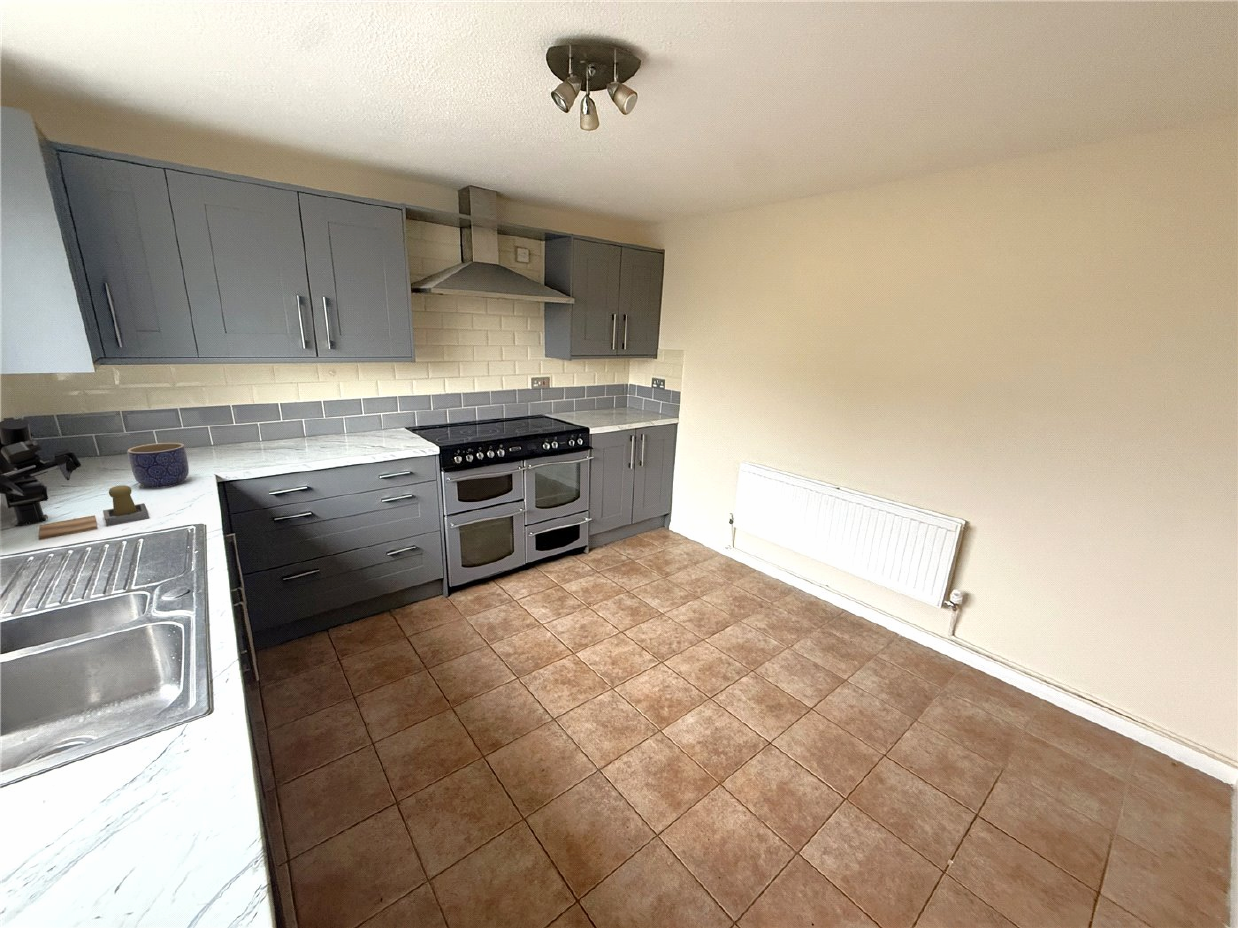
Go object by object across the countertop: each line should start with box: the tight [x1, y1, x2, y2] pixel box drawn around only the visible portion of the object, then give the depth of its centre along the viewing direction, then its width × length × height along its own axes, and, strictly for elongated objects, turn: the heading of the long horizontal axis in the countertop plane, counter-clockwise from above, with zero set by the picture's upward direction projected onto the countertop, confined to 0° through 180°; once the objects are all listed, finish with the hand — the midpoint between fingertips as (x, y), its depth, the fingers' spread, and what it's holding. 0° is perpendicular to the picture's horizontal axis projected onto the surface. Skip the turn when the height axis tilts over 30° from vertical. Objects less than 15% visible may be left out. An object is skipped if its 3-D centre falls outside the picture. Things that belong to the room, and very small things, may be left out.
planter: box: [126, 442, 190, 489], centre depth 193 cm, size 16×17×15 cm
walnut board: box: [37, 514, 98, 541], centre depth 153 cm, size 12×12×1 cm
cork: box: [108, 484, 138, 516], centre depth 161 cm, size 6×6×11 cm
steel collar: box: [102, 502, 150, 527], centre depth 162 cm, size 10×10×2 cm
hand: (46, 486), depth 141 cm, fingers open, 9 cm apart
